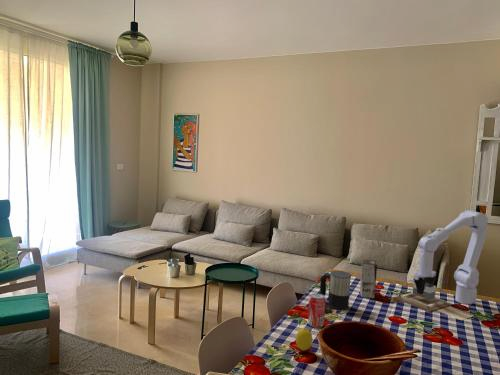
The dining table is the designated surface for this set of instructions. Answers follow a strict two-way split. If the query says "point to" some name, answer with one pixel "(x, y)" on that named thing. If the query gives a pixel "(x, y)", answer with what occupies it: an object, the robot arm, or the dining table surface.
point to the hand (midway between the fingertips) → (423, 292)
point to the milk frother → (336, 290)
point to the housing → (426, 291)
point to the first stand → (455, 313)
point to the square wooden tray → (422, 302)
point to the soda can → (316, 310)
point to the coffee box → (368, 278)
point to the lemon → (304, 339)
